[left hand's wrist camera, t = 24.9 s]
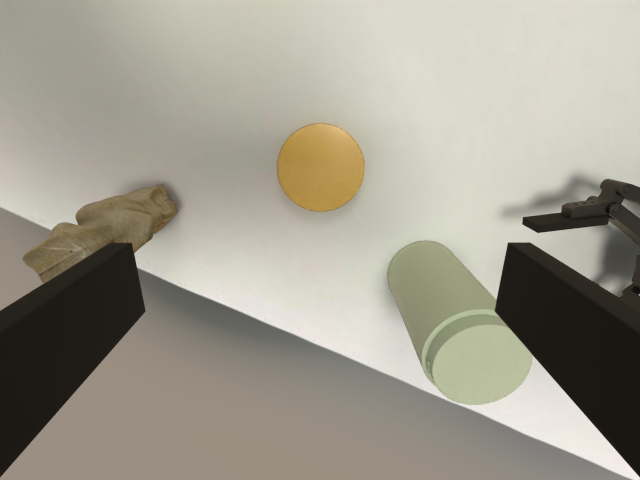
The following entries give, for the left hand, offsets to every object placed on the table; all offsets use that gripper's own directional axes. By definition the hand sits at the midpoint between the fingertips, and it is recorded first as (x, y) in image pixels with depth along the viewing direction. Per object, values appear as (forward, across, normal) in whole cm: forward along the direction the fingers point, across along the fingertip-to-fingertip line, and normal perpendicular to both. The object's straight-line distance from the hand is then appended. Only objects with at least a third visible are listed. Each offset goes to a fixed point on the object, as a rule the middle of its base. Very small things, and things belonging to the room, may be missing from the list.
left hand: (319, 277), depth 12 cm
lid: (+26, 0, 0) cm, 27 cm away
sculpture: (+28, -19, -5) cm, 34 cm away
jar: (+28, +13, -13) cm, 33 cm away
